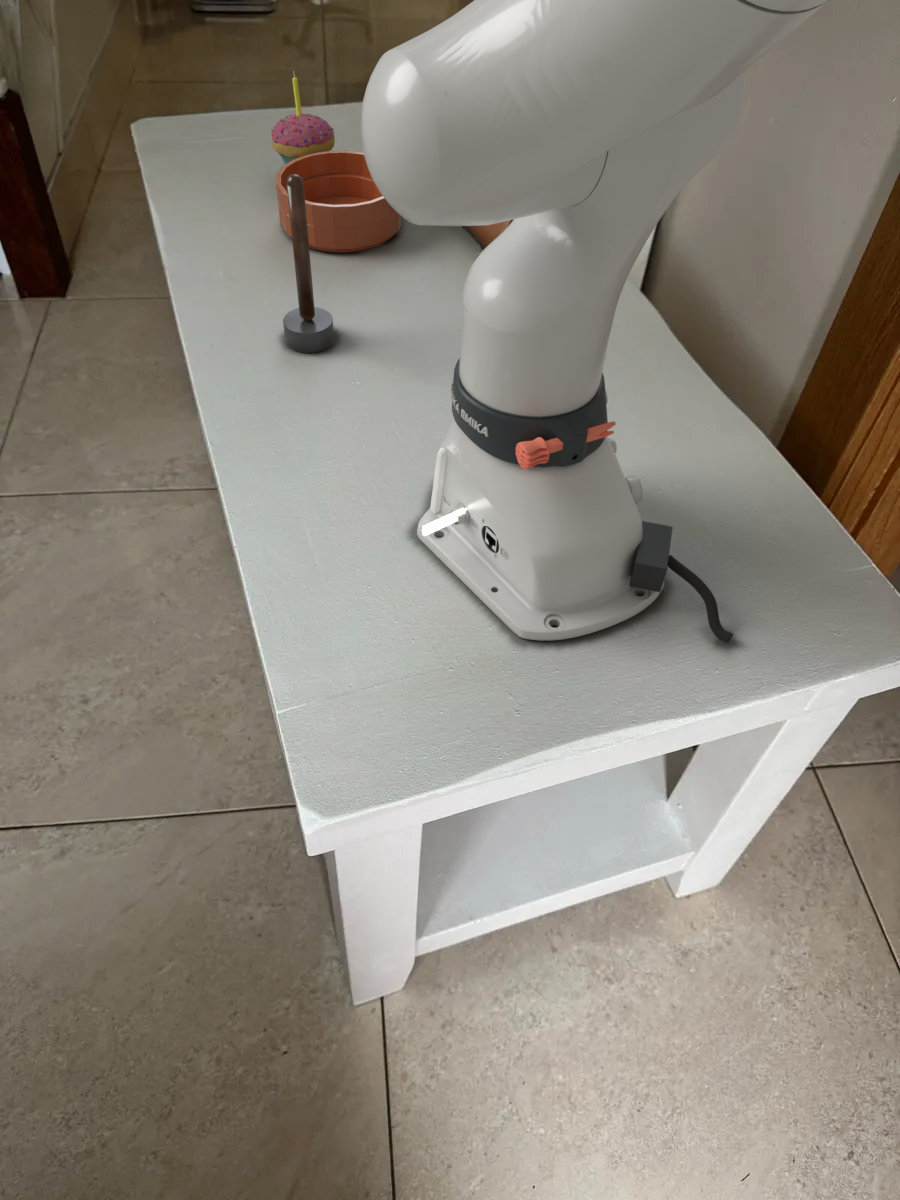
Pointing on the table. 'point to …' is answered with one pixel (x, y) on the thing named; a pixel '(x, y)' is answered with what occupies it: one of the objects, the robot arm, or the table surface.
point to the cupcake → (301, 133)
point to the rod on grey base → (304, 283)
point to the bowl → (338, 202)
